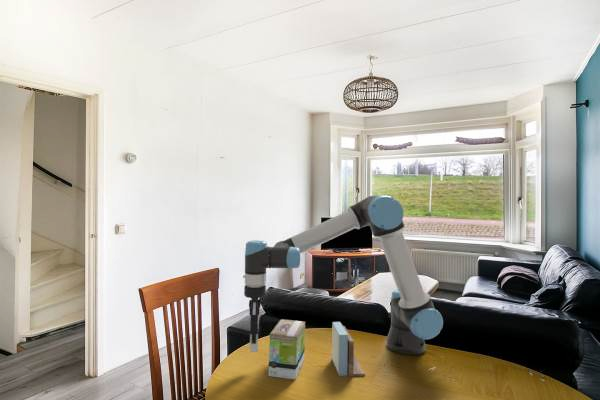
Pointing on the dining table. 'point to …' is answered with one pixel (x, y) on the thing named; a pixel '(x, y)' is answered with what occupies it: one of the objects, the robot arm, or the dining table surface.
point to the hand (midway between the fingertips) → (253, 351)
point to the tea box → (286, 349)
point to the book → (339, 348)
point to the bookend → (353, 359)
